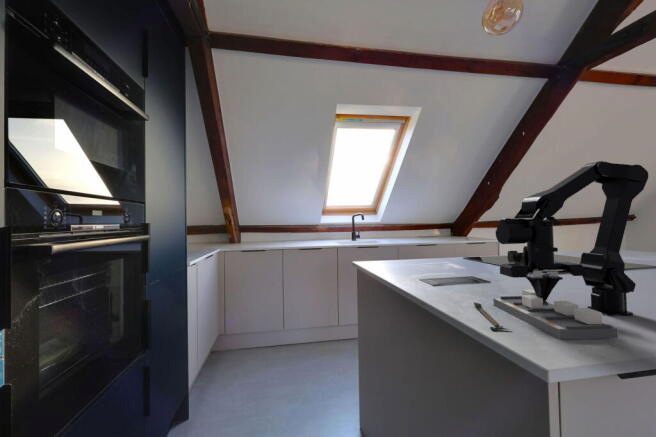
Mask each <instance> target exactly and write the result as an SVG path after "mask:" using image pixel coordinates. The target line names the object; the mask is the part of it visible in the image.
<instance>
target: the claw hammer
mask: <svg viewBox="0 0 656 437" xmlns="http://www.w3.org/2000/svg"><path fill="white" fill-rule="evenodd" d="M473 305H474V306H475V309H476V310H477V311H478V312H479V313H480V314H481V315H482V316H483V317H484V318H485V319H486V320H487V321H488V322H489V323H491V324H492V325H493V326H490V328H489V329H490V330H491V332H496V333H497V332H502V333H513V331H511V330H507V329H506V328H505V327H504V325H500V323H498V321H497V320H496V319H494V318H493V317H492V316H491V314H489V312H487V311H486V309H483V307H482V303H479V302H473Z"/></svg>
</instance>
